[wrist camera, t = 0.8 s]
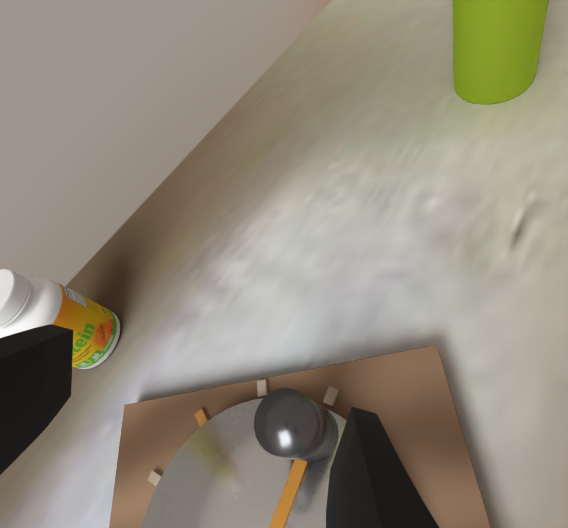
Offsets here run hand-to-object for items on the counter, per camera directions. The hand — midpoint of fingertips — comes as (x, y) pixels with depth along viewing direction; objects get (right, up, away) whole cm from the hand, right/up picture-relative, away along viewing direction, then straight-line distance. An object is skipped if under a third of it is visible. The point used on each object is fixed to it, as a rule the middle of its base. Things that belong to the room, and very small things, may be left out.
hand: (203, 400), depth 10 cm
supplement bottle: (-14, -3, +25) cm, 29 cm away
